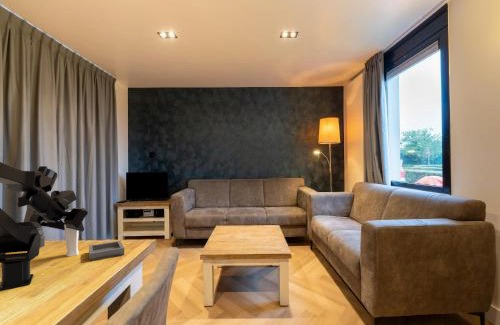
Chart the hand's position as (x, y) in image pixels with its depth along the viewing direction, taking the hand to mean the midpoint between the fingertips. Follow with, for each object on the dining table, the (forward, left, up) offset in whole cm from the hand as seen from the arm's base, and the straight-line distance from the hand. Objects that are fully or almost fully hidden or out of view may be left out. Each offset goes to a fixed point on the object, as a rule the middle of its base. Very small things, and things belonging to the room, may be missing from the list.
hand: (75, 229), depth 94 cm
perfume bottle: (-1, +1, -8) cm, 8 cm away
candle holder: (+17, +13, -8) cm, 23 cm away
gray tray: (-7, -9, -8) cm, 14 cm away
